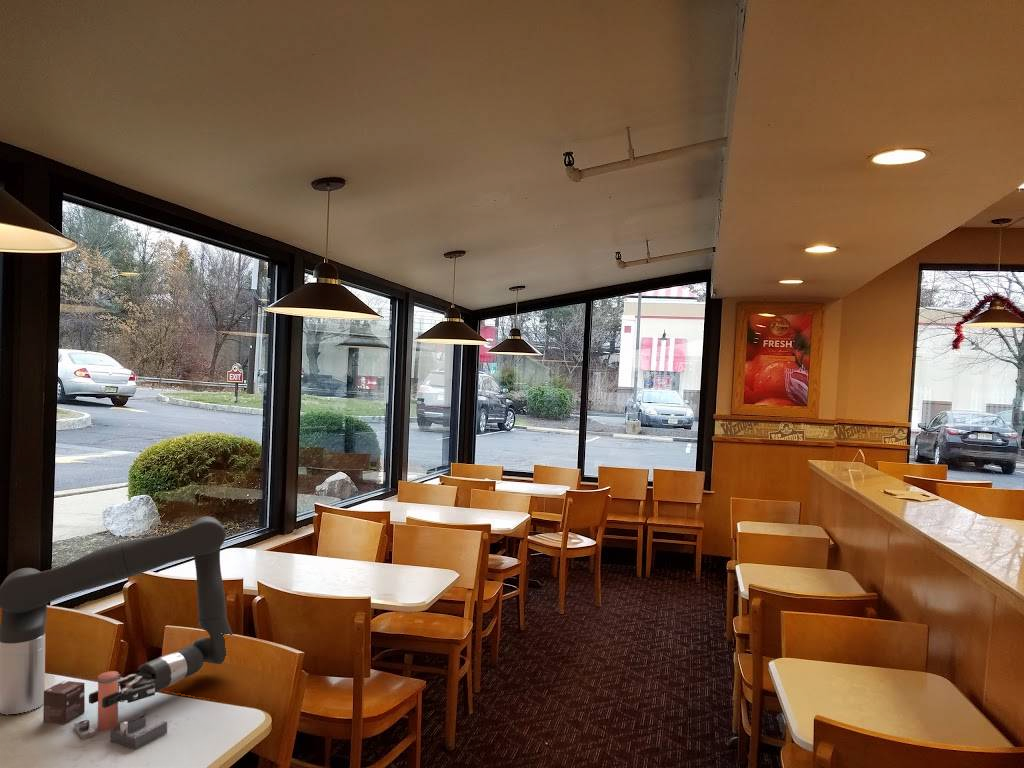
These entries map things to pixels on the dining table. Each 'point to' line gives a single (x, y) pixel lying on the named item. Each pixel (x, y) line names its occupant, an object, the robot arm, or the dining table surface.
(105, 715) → the post
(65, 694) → the box
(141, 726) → the bracket
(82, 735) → the plate
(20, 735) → the dining table surface
